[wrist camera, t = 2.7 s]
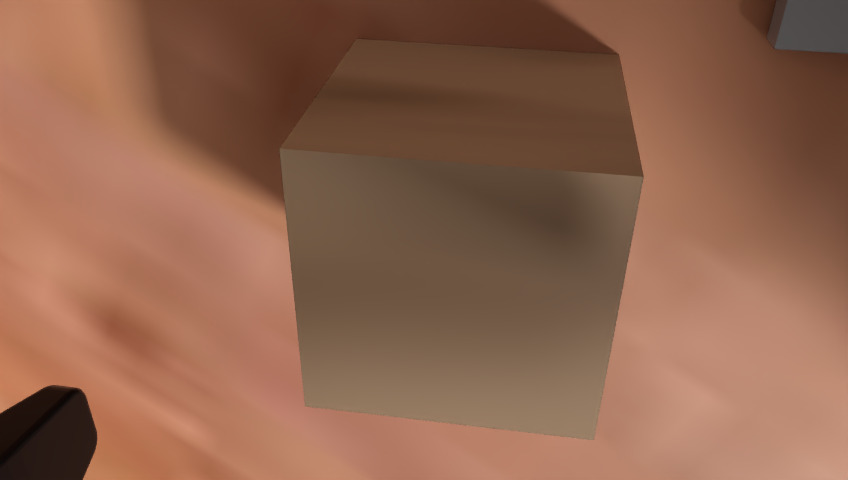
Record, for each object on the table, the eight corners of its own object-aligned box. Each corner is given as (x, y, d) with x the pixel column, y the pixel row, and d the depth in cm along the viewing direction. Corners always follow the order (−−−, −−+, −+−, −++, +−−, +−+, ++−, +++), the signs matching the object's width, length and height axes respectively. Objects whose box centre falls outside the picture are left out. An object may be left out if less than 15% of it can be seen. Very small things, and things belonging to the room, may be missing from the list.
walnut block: (585, 271, 17) (594, 440, 13) (365, 251, 18) (305, 406, 13) (618, 53, 14) (643, 176, 10) (357, 37, 15) (279, 148, 11)
